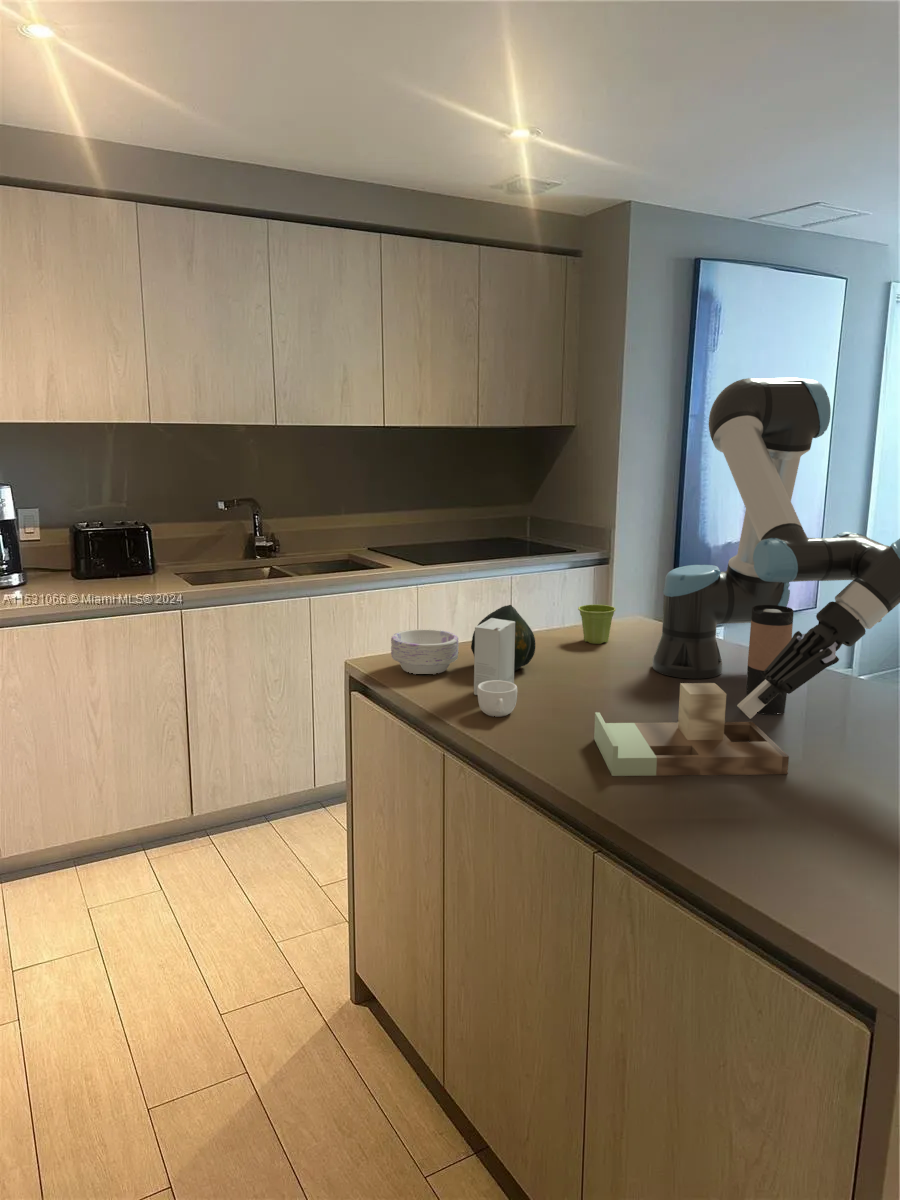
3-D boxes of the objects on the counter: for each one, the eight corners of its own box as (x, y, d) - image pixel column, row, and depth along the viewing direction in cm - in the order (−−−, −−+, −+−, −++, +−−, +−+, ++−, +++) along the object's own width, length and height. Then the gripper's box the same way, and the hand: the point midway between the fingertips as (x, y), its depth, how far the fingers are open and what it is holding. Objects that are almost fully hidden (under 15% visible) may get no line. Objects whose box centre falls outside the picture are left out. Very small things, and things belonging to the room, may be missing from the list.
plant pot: (576, 645, 216) (577, 611, 214) (577, 636, 225) (578, 603, 223) (614, 646, 214) (616, 612, 212) (614, 637, 223) (615, 604, 221)
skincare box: (489, 684, 184) (490, 617, 181) (515, 688, 181) (516, 620, 178) (472, 695, 176) (472, 625, 173) (499, 700, 174) (500, 628, 171)
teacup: (475, 706, 170) (475, 680, 168) (513, 705, 170) (514, 679, 169) (480, 724, 160) (481, 696, 159) (521, 723, 160) (522, 695, 159)
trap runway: (751, 737, 152) (752, 721, 152) (787, 774, 137) (788, 756, 136) (633, 738, 152) (634, 722, 151) (656, 775, 136) (656, 757, 136)
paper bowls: (472, 669, 195) (472, 635, 193) (423, 683, 185) (423, 648, 183) (426, 656, 206) (425, 624, 204) (377, 669, 195) (376, 636, 193)
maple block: (712, 727, 149) (714, 683, 148) (723, 739, 143) (726, 693, 142) (677, 727, 149) (680, 683, 147) (687, 740, 143) (690, 694, 142)
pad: (633, 738, 152) (634, 712, 151) (656, 775, 136) (657, 745, 135) (594, 739, 152) (595, 712, 151) (612, 775, 136) (613, 746, 135)
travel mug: (787, 705, 169) (795, 606, 165) (784, 717, 163) (792, 614, 159) (747, 700, 173) (753, 603, 169) (742, 711, 166) (749, 610, 162)
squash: (469, 655, 186) (512, 602, 186) (452, 641, 200) (493, 592, 201) (515, 694, 190) (558, 642, 190) (496, 677, 204) (536, 629, 205)
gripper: (884, 640, 136) (772, 740, 140) (846, 621, 149) (744, 714, 152) (854, 608, 135) (742, 710, 138) (818, 592, 148) (716, 685, 151)
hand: (743, 712), depth 145 cm, fingers closed
